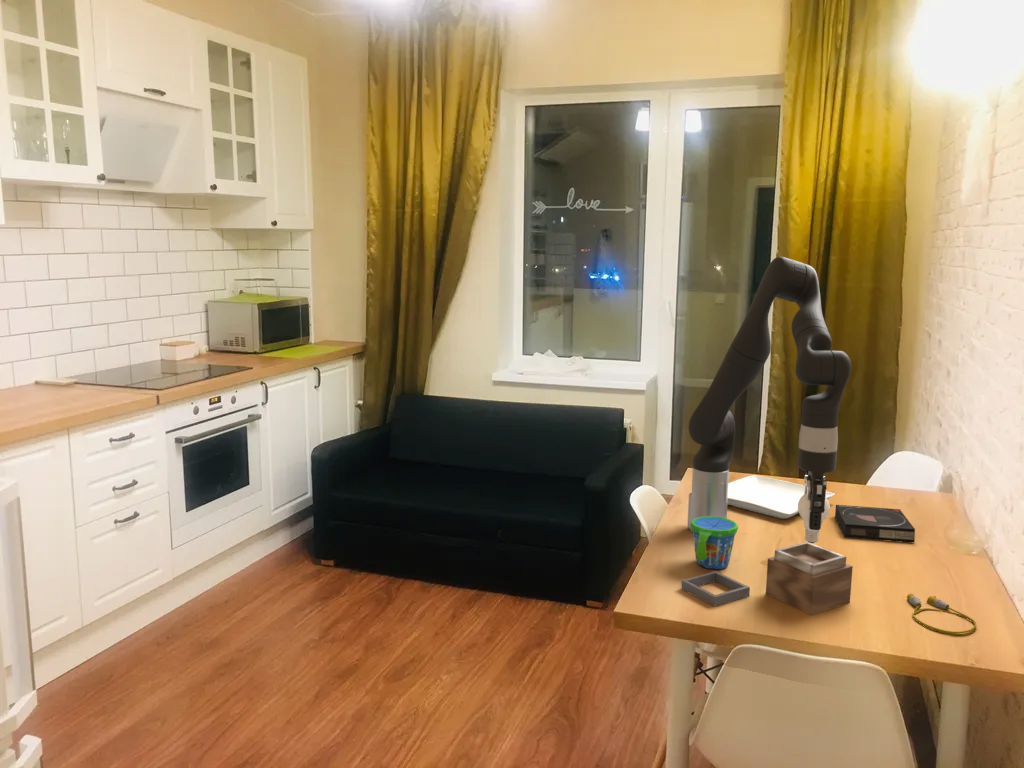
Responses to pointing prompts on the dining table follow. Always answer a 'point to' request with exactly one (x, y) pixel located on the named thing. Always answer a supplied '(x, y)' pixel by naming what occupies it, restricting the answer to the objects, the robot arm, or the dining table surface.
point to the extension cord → (940, 604)
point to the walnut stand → (809, 577)
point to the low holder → (715, 600)
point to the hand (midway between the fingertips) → (812, 523)
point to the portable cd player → (874, 523)
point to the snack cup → (713, 540)
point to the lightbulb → (805, 514)
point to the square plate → (767, 495)
